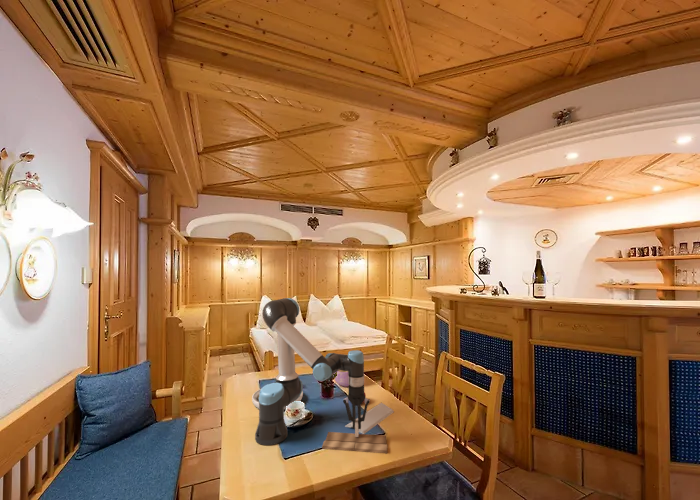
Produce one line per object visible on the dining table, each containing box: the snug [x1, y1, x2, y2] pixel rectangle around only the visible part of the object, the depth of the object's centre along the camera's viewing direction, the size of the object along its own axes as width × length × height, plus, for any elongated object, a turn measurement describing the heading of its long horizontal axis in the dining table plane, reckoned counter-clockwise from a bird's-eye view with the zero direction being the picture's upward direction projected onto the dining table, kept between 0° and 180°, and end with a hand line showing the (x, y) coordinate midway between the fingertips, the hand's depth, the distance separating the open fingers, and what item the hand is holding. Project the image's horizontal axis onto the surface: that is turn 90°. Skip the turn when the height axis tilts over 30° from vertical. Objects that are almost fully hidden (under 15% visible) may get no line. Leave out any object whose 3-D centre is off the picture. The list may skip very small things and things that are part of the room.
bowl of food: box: [334, 370, 349, 388], centre depth 217 cm, size 20×20×12 cm
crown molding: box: [344, 402, 395, 434], centre depth 169 cm, size 29×12×4 cm, turn 142°
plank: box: [325, 431, 387, 445], centre depth 148 cm, size 28×6×1 cm, turn 82°
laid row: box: [321, 439, 388, 454], centre depth 142 cm, size 29×5×1 cm, turn 82°
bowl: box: [251, 387, 304, 411], centre depth 191 cm, size 30×30×8 cm
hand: (357, 435), depth 149 cm, fingers closed
